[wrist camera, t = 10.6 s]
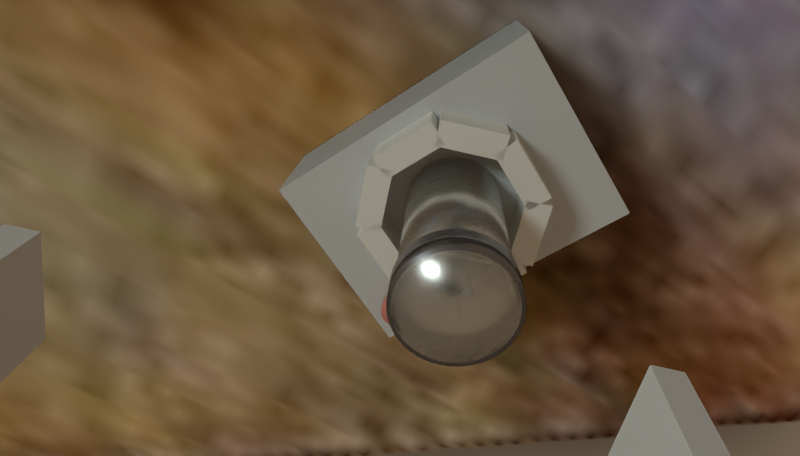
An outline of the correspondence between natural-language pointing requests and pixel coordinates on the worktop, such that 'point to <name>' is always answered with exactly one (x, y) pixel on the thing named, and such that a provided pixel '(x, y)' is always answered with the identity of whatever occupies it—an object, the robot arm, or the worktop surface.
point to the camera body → (465, 138)
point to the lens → (455, 268)
